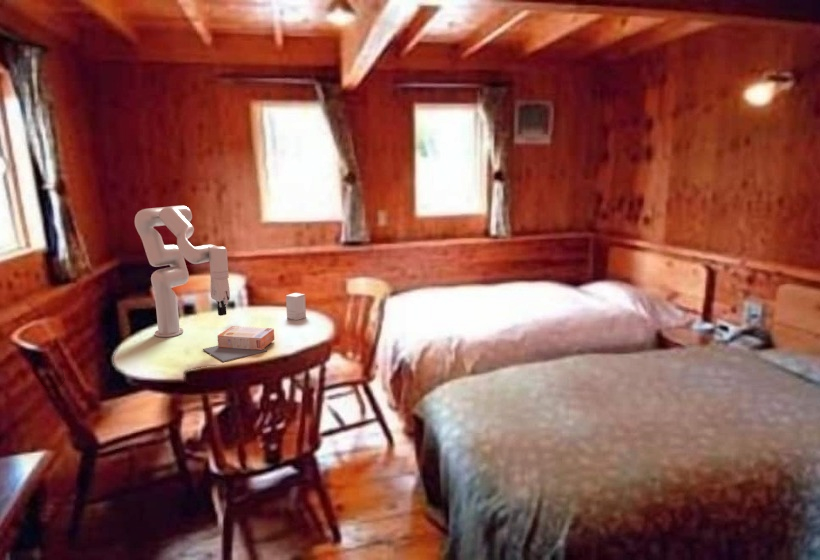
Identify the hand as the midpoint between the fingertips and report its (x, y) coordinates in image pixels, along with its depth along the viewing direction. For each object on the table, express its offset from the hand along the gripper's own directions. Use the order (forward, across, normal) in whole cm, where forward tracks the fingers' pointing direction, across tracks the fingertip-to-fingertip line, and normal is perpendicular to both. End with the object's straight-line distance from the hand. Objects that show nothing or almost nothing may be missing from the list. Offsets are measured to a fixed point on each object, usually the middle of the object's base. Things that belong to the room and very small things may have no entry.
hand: (222, 314), depth 250 cm
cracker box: (+11, -1, +1) cm, 11 cm away
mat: (+14, +10, 0) cm, 18 cm away
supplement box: (+14, -17, +48) cm, 53 cm away
